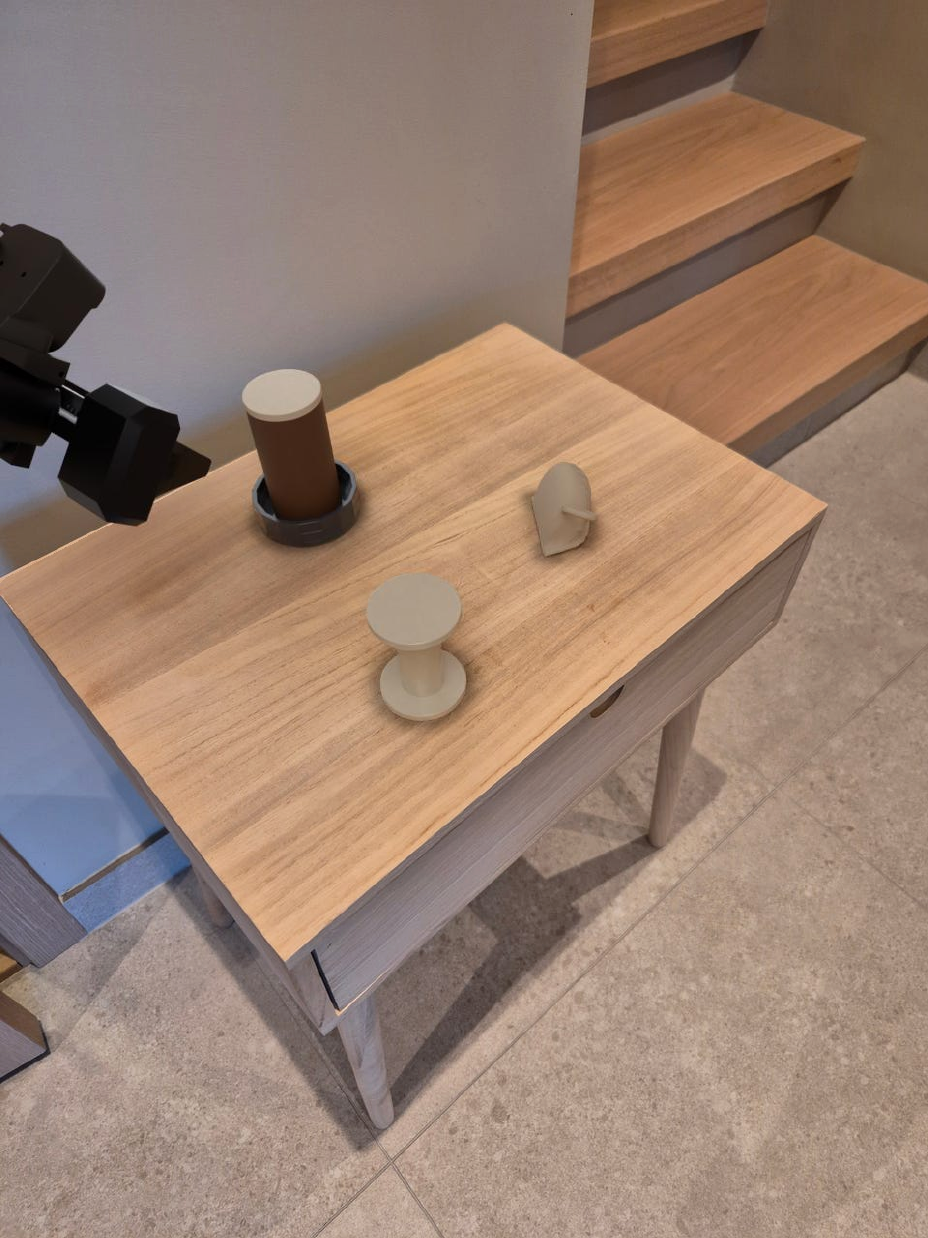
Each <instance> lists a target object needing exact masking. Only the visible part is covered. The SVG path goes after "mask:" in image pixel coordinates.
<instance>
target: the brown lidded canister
mask: <svg viewBox="0 0 928 1238" xmlns="http://www.w3.org/2000/svg"><path fill="white" fill-rule="evenodd" d="M323 398H324V397H323V390H322V385H321V382H320V381H319V379H318V378H317V377H316V376H315V375H313V374H312V373H310V372H307V371H305V370H300V369H294V368H283V369H276V370H272V371H268V372H264V373H262V374H260V375H259V376H257V377H255V378H253V379H252V380H251V381H249V382H248V383H247V384H246V386H245V387H244V388H243V389H242V393H241V402H242V405H243V408H244V410H245V412H246V416H247V420H248V425H249V427H250V431H251V435H252V438H253V442H254V445H255V449H256V452H257V456H258V459H259V462H260V463H259V464H260V466H261V471H262V474H264V478H265V481H266V485H267V488H268V492H269V495H270V499H271V503H272V506H273V510H274V513H275V516H276V518H278V519H281V520H290V521H304V520H310V519H316V518H320V517H322V516H324V515H326V514H328V513H330V512H332V511H335V510H336V509H337V508H338V507H339V506H340V505H341V504H342V497H341V491H340V486H339V481H338V476H337V471H336V466H335V460H336V459H335V456H334V450H333V445H332V440H331V434H330V430H329V424H328V420H327V415H326V409H325V404H324V399H323ZM334 459H335V460H334Z"/></svg>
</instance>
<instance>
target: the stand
mask: <svg viewBox="0 0 928 1238" xmlns="http://www.w3.org/2000/svg"><path fill="white" fill-rule="evenodd" d="M365 617H366V622H367V625H368V628H369V630H370V632H371V633H372V635H373V636H374V637H375V638H376V639H377V640H378V641H379V642H381V643H382V644H384V645H386V646H388V647H390V648H393V649H396V652H397V654H396V655H395V656H394V657H392V658H391V659H390V660H389V661H388V662H387V664H386V665H385V666H384V668H383V669H382V672H381V675H380V678H379V690H380V695H381V698H382V700H383V703H384V704H385V705H386V707H387V708H388V709H389V710H390V711H391V712H393V713H394V714H395V715H397V716H398V717H401V718H403V719H405V720H409V721H414V722H429V721H433V720H437V719H440V718H442V717H443V718H444V717H445V716H447V715H448V714H450V713H451V712H453V711H454V710H456V708H457V707H458V706H459V705H460V704H461V702H462V700H463V699H464V697H465V694H466V691H467V674H466V670H465V668H464V666H463V664H462V663H461V661H460V660H459V659H458V658H457V657H456V656H455V655H453V654H452V653H451V652H449V651H447V650H445V649H442V643H443V642H445V641H447V640H448V639H449V638H451V636H452V635H454V633H455V632H456V631H457V629H458V628H459V626H460V624H461V621H462V618H463V601H462V598H461V595H460V593H459V592H458V590H457V589H456V587H455V586H454V585H453V584H451V583H450V582H449V581H447V580H446V579H445V578H442V577H440V576H438V575H435V574H432V573H428V572H427V573H426V572H408V573H403V574H399V575H396V576H393V577H391V578H389V579H387V580H385V581H384V582H382V583H381V584H380V585H378V586H377V587H376V588H375V589H374V591H373V592H372V593H371V594H370V596H369V598H368V600H367V603H366V607H365Z"/></svg>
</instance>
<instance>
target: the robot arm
mask: <svg viewBox="0 0 928 1238" xmlns="http://www.w3.org/2000/svg"><path fill="white" fill-rule="evenodd" d="M0 232H1V233H2V235H0V459H1V460H2V461H4V462H5V463H7V464H8V465H10V466H12V467H17V468H22V469H26V470H27V469H28V470H29V469H30V467H31V464H32V461H33V458H34V455H35V453H36V450H37V447H39V448H41V447H43V446H44V445H45V444H46V443H47V441H48V440H49V439H50V437H51V435H52V434H54V435H55V436H56V437H58V438H60V439H62V440H64V441H65V442H66V443H68V444H67V447H66V450H65V453H64V455H63V459H62V461H61V465H60V468H59V470H58V473H57V477H56V478H57V480H58V481H59V483H60V485H61V487H62V489H63V491H64V494H65V495H66V496H67V498H69V499H70V500H72V501H74V502H75V503H76V504H77V505H80V506H81V507H82V508H84V509H85V510H87V511H89V512H90V513H92V514H93V515H95V516H96V517H98V518H100V519H101V520H103V521H104V522H105V523H108V524H109V523H110V524H116V525H121V526H122V525H124V526H127V527H128V526H130V527H136V528H137V527H139V526H140V525H142V524H145V523H146V522H147V521H148V519H149V516H150V513H151V510H152V508H153V505H154V503H155V500H156V498H159V497H160V496H162V495H165V494H167V493H170V492H171V491H173V490H176V489H179V488H181V487H184V486H187V485H188V484H190V483H194V482H196V481H198V480H200V479H203V478H205V477H206V476H207V475H208V473H209V471H210V468H211V465H212V459H211V458H209V457H207V456H205V455H204V454H202V453H200V452H198V451H197V450H195V449H193V448H191V447H189V446H187V445H185V444H184V443H182V442H180V441H178V437H179V435H180V432H181V425H180V420H179V415H178V414H177V413H175V412H173V411H172V410H170V409H168V408H165V407H164V406H162V405H161V404H158V403H156V402H154V401H153V400H151V399H149V398H147V397H146V396H143V395H141V394H138V393H136V392H133V391H131V390H128V389H126V388H123V387H120V386H117V385H114V384H111V383H108V382H106V383H104V384H103V385H101V386H99V387H97V388H95V389H94V390H92V391H89V390H87V389H85V388H84V387H81V385H78V384H76V383H74V382H73V381H71V380H69V379H68V378H67V376H68V373H69V369H70V367H71V362H69V361H67V360H66V359H64V358H62V357H60V356H57V355H54V354H52V353H55V352H58V350H60V349H62V348H63V347H64V346H65V345H66V343H67V342H68V340H69V339H70V338H71V337H72V335H73V334H74V333H75V332H76V331H77V329H78V328H79V326H80V325H81V323H82V322H83V321H84V320H85V318H86V317H87V316H88V314H89V313H90V312H91V311H92V310H95V309H97V308H99V306H100V305H101V304H102V302H103V301H104V298H105V296H106V293H107V288H106V285H105V283H104V282H103V281H102V280H101V279H100V278H99V277H98V276H97V275H96V274H95V273H94V272H93V271H92V270H91V269H90V268H89V267H88V266H87V265H86V264H85V263H84V262H83V261H82V260H81V259H80V258H79V257H78V256H77V255H76V254H75V253H74V252H73V251H72V250H71V249H70V248H69V246H67V245H66V244H65V243H64V242H63V241H62V240H61V239H59V238H58V237H56V236H53V235H51V234H49V233H46V232H44V231H42V230H39V229H38V228H35V227H33V226H30V225H28V224H26V223H17V224H14V225H9V224H7V223H5V222H1V223H0Z"/></svg>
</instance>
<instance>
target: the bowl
mask: <svg viewBox="0 0 928 1238" xmlns="http://www.w3.org/2000/svg"><path fill="white" fill-rule="evenodd" d="M334 460H335V466H336V471H337V476H338V481H339V486H340V491H341V497H342V504H341V505H340V506H339V507H338V508H337V509H336V510H335V511H332V512H330V513H328V514H326V515H324V516H322V517H320V518H316V519H310V520H304V521H290V520H281V519H278V518H276V516H275V513H274V510H273V506H272V503H271V499H270V495H269V492H268V488H267V485H266V481H265V478H264V474H263V473H262V474H261V475H260V476H259V477H258V478H257V480H256V482H255V484H254V485H253V488H252V490H251V496H252V500H251V501H252V506H253V510H254V513H255V516H256V519H257V522H258V524H259V526H260V528H261V530H262V532H263V534H265V535H266V537H268V538H269V539H270V540H272V541H274V542H276V543H278V544H280V545H283V546H287V547H291V548H310V547H318V546H321V545H325V544H329V543H330V542H333V541H336V540H338V538H340V537H342V536H344V535H345V534H346V533H347V532H348V531H350V530H351V529H352V528H353V526H354V525H355V524H356V522H357V521H358V518H359V515H360V512H361V501H360V495H359V490H358V484H357V480H356V474H355V473H354V471H353V470H352V469H351V468H350V467H349V466H347V464H345V462H342V461H340V460H338V459H335V458H334Z"/></svg>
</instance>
